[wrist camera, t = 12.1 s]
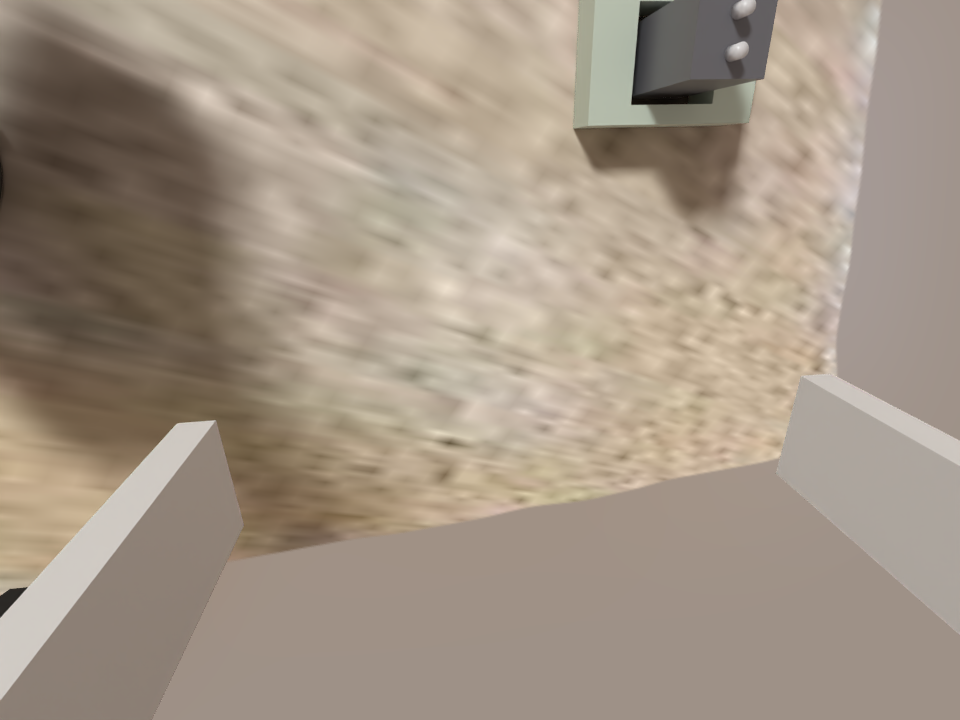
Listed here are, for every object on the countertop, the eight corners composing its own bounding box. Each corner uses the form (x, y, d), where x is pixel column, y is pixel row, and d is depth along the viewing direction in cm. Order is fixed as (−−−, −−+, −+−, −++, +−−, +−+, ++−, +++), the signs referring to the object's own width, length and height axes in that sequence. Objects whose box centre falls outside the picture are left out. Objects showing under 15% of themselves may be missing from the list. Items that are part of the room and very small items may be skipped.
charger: (622, 99, 37) (699, 76, 27) (627, 28, 35) (712, -24, 25) (678, 98, 37) (775, 76, 27) (686, 28, 36) (793, -23, 25)
